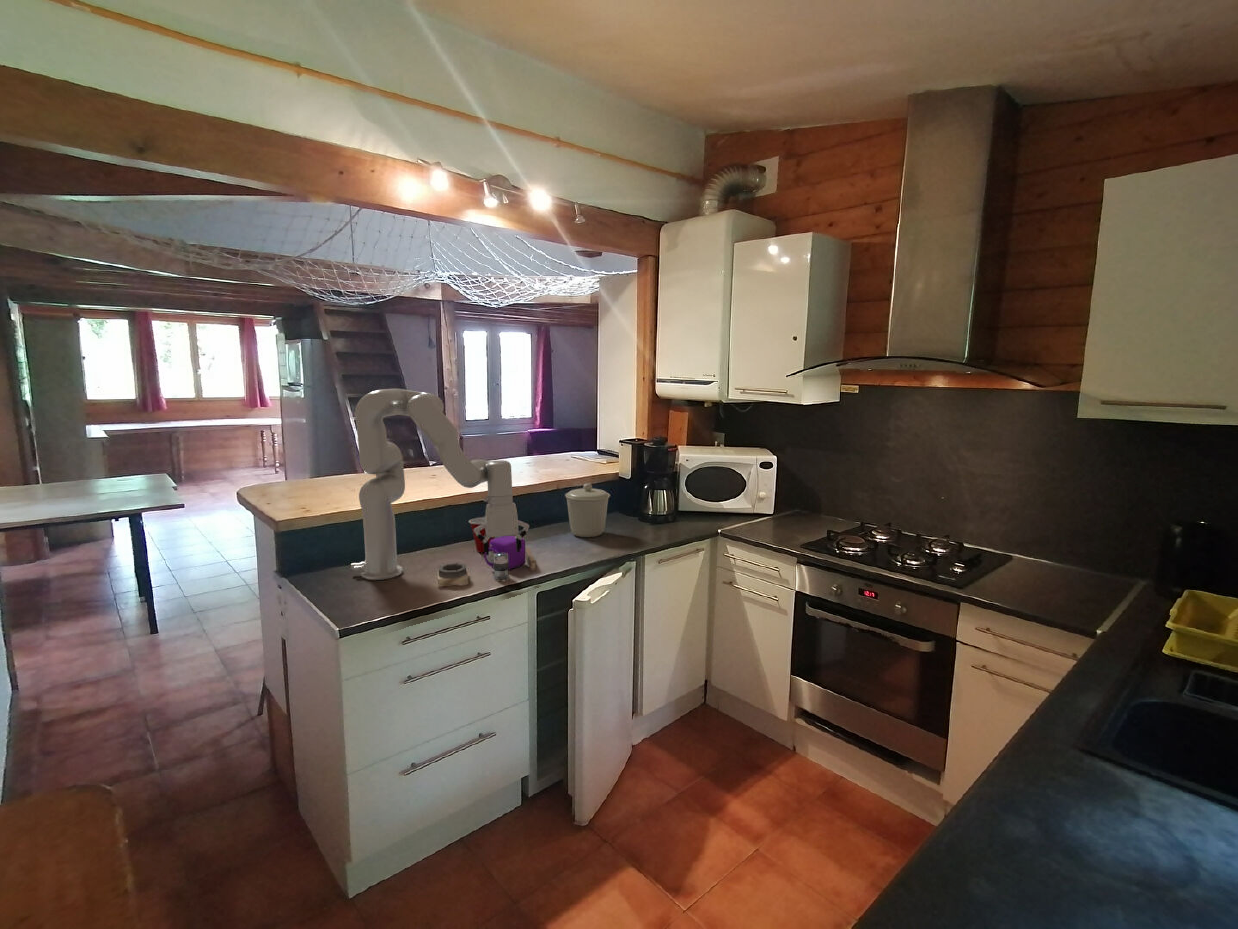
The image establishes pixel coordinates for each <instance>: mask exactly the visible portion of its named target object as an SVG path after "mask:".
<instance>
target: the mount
mask: <svg viewBox="0 0 1238 929" xmlns="http://www.w3.org/2000/svg"><path fill="white" fill-rule="evenodd" d="M460 584H468V585H469V575H468V568H467V564H464V563H460V562H453V563H452V562H451V563H445V564H441V565H439V566H438V570H437V587H438V588H443V587H442V586H448V587H453V586H452V585H459V586H461V585H460Z"/></svg>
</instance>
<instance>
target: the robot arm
mask: <svg viewBox="0 0 1238 929" xmlns="http://www.w3.org/2000/svg"><path fill="white" fill-rule="evenodd" d="M444 406H445V405H444V403H443V401H442V399H441V398H440V397H439V396H438V395H436V394H435V393H431V392H422V391H415V390H410V389H403V388H384V389H377V390H373V391H370V392H369V393H367V394H365V395H363V396H362V397H361V398H360V399H359V401H358V402H357V405H356V407H355V409H354V410H355V411H354V412H355V415H354V417H355V425H356V432H357V446H358V455H359V462H360V463H359V464H360V467H361V469H362V470H363V471H364V473H366V474H368V475H375V477H374V478H371V479H369V480H367V481H366V482H365V483H363V485H362V486H361V487H360V489H359V492H358V499H359V504H360V509H361V514H362V522H363V537H364V554H365V556H364V557H365V559H364V561H361V562H352V563H351V564H350V569H351V570H353V571H354V572H355V571H360V576H361V578H363V579H364V580H370V581H371V580H372V581H378V580H379V581H380V580H388V579H393V578H395V577H398V576H399V575H401V574H402V573H403V567H402V566H400V565H399V564H398V555H397V554H398V553H397V552H398V551H397V534H396V529H397V528H396V518H395V517H396V516H395V513H394V510H393V507H392V504H393V503H394V502H397V501H398V500H400V499H401V498H402V496H403V495H404V494H405V489H406V481H405V480H406V479H405V468H404V459H403V458H404V457H403V455H402V454H403V453H402V451H401V449H400V448H399V447H398V446H397V444H396V443H394V442H391V441H388V438H387V436H388V435H387V434H388V432H387V428H386V425H385V423H384V418H387V417H391V416H392V417H393V416H397V415H398V416H406V417H409V418H411V420H412V421H413V422H414V423H415V424H416V426H418V428H419V429H420V430H421V432H423V434H424V435H425V436H426V437H427V439H428V440H429V441H430V443H431V444H433V446H434V447H435V450H436V453H437V455H438V456H439V460H440V461H441V463H442V465H443V466H444V468H445V469H446V470H447V472H448V473H449V474H450V476H451V477H452V478H453V479H454V480H455V481H456V482H457V483H458V484H459V485H460V486H462V487H464V488H467V489H472V488H474V487H475V488H476V487H477V486H478V485H480V484H483V483H485V482H487V483H486V484H487V496H486V497H483V502H484V503H487V504H486V505H485V506H486V507H485V515H484V517H485V523H483V524H482V525H480V526H478V527H476V528H475V529H474V532H475V534H476V535H477V537H478V538H479V539H480V540H481V541H482V542H483V544H484V552H486V554H487V555H489V544H488V540H489V538H490V537H495V538H499V537H504V536H514V537H517V538H516V550H517V552H520V549H521V539H524V537H525V536H526V535H527V532H528V530H529V528H530V524H529V523H526V522H524V521H521V520H519V517H518V511H517V505H516V503H515V502H513V501H514V499H513V479H512V478H513V477H512V465H511V462H509V461H507V460H502V459H501V460H500V459H499V460H488V459H487V460H486V459H477V458H476V459H472V460H470V459H469V457H467V455H466V454H465V452H464V451H463V449H462V448H461V445H460V443H459V439H458V438H459V437H458V436H459V434H458V433H459V432H458V429H457V427H456V426H455V425H454V424H453V422H451V420H450V419H449V418H448V417H447V416H446V414H444V410H445V408H444ZM519 526H520V527H523V529H522V530H521V531H520V532H519ZM484 528H485V530H486V534H485V536H482V535H481V534H480V532H479V531H480V530H482V529H484Z"/></svg>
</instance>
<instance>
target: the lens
mask: <svg viewBox="0 0 1238 929" xmlns="http://www.w3.org/2000/svg"><path fill="white" fill-rule="evenodd" d="M492 568H493V580H494V579H495V580H494V581H496V580H499V581H498V582H504V581H503V580H505V581H507V579H508V580H509V570H510V569H509V561H508V554H507V553H496V554H494V562H493V567H492ZM508 569H509V570H508Z"/></svg>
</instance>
